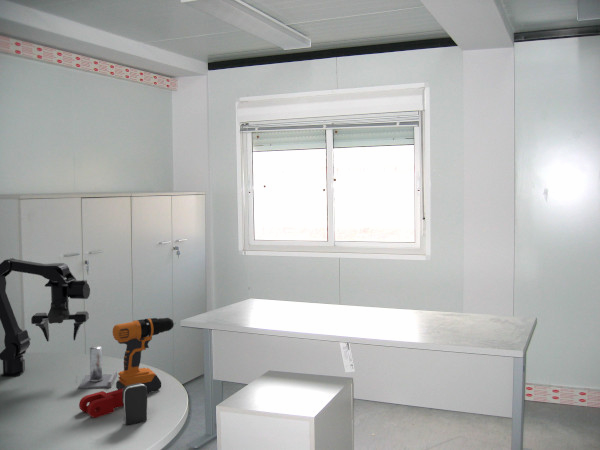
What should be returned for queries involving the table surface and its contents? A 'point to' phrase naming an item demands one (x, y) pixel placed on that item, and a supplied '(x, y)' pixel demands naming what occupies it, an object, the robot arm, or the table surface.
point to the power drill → (139, 350)
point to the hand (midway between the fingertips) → (61, 340)
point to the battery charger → (134, 403)
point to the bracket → (105, 383)
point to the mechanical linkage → (101, 403)
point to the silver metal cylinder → (96, 364)
